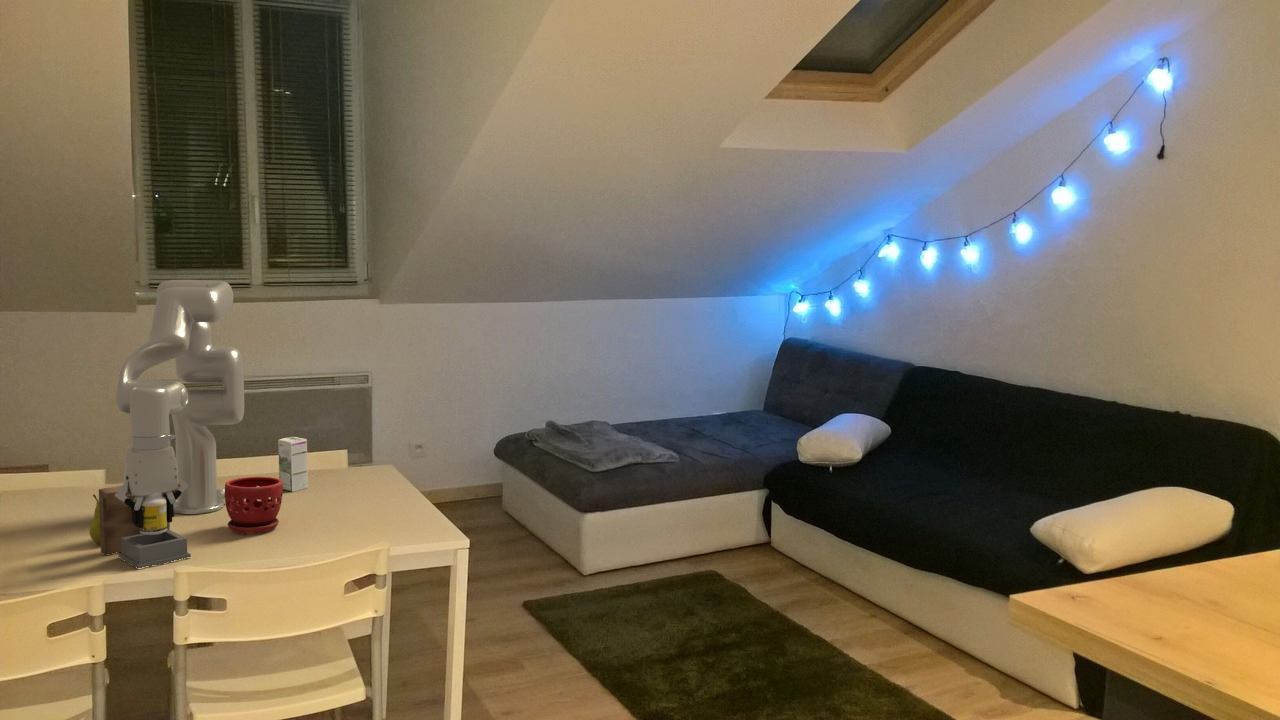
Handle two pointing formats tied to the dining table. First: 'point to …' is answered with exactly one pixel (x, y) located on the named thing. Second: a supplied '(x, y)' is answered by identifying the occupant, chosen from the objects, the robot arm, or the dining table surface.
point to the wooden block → (115, 520)
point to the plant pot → (253, 504)
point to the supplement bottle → (154, 514)
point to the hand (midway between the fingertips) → (153, 523)
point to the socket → (153, 549)
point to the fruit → (95, 524)
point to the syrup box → (293, 463)
